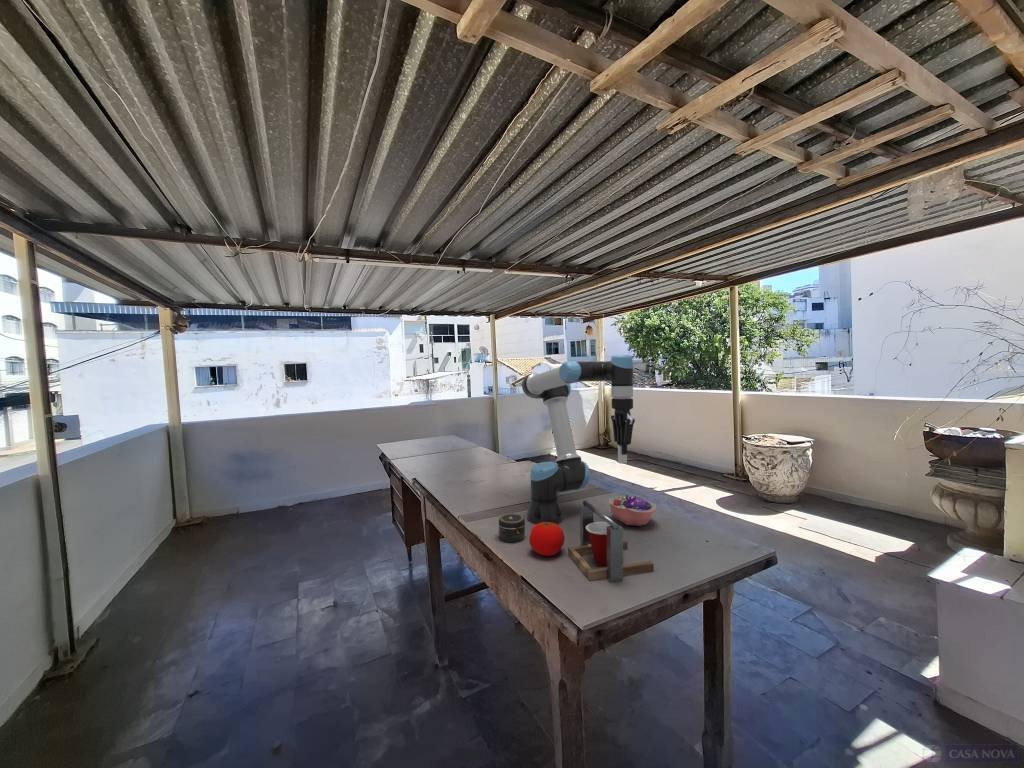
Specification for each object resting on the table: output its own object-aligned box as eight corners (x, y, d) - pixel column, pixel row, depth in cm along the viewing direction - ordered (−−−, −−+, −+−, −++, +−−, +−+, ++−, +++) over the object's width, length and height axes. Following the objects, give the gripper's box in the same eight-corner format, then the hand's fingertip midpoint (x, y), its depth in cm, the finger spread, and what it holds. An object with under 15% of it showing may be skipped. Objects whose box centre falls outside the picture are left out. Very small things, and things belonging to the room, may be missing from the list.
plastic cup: (596, 551, 135) (596, 517, 135) (625, 561, 128) (625, 525, 127) (579, 563, 127) (579, 526, 126) (609, 574, 120) (609, 535, 119)
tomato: (523, 553, 134) (523, 523, 134) (545, 542, 143) (544, 513, 142) (549, 564, 126) (549, 532, 126) (570, 551, 135) (570, 521, 135)
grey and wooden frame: (565, 551, 135) (564, 502, 135) (621, 544, 140) (621, 496, 140) (593, 585, 113) (592, 527, 113) (658, 575, 118) (658, 519, 118)
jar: (507, 546, 140) (507, 525, 140) (494, 536, 149) (493, 516, 148) (530, 539, 145) (530, 519, 145) (515, 530, 154) (515, 511, 154)
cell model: (626, 511, 173) (626, 486, 172) (665, 526, 156) (665, 498, 156) (599, 520, 164) (599, 493, 163) (638, 536, 147) (637, 506, 146)
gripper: (641, 398, 134) (641, 466, 135) (622, 396, 147) (622, 458, 148) (621, 399, 132) (622, 467, 133) (604, 397, 145) (604, 459, 146)
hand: (622, 462), depth 140 cm, fingers closed
